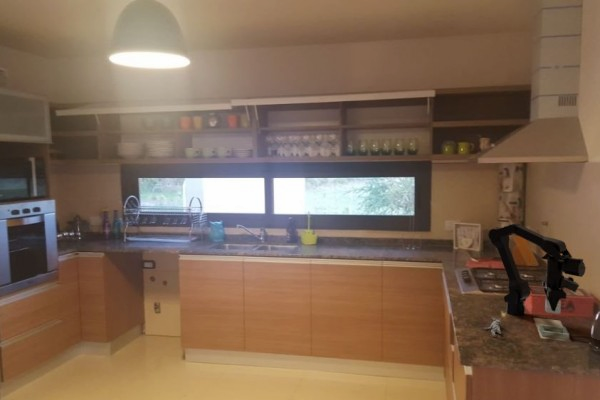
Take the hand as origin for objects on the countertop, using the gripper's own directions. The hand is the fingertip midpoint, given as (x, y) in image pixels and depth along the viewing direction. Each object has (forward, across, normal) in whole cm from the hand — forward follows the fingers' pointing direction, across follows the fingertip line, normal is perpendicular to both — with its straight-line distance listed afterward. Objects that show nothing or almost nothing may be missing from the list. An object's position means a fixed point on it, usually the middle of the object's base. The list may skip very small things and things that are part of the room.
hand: (552, 309), depth 185 cm
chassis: (+7, -6, +1) cm, 9 cm away
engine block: (+1, 0, 0) cm, 1 cm away
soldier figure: (+8, -14, +22) cm, 27 cm away
